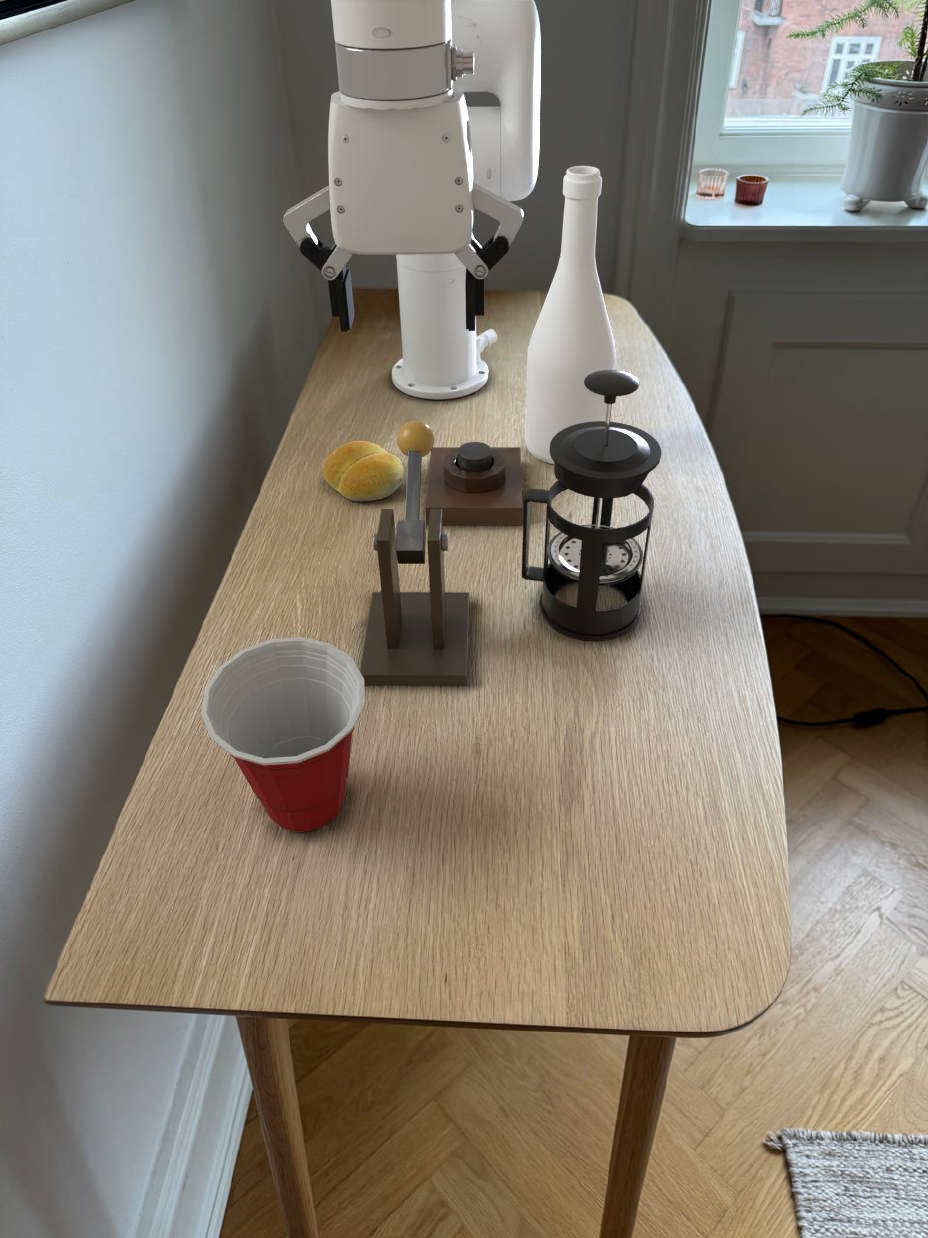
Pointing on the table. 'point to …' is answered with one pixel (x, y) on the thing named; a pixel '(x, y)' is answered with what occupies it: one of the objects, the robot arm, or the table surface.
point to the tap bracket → (415, 618)
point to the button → (474, 457)
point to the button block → (476, 489)
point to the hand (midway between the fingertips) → (409, 324)
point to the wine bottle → (569, 326)
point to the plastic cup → (288, 725)
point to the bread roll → (363, 471)
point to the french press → (595, 519)
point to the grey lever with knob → (413, 492)
